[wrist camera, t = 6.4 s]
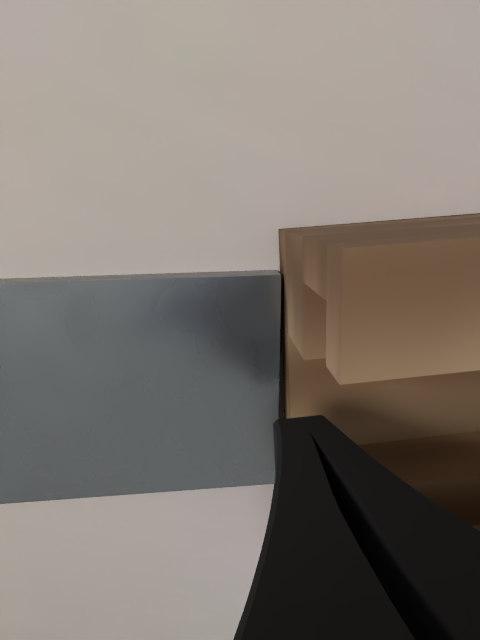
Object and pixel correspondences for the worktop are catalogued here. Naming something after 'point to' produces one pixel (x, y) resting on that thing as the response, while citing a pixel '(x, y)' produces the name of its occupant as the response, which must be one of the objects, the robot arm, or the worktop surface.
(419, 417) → the sleeve box
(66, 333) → the cover plate
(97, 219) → the worktop surface
